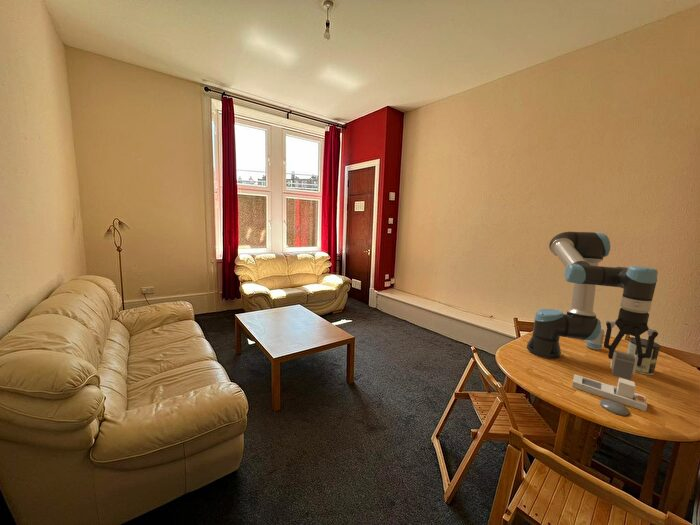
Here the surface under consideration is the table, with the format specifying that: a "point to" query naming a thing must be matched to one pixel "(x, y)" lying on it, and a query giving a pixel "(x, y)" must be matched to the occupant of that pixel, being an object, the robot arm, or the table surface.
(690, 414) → the table surface
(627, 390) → the white plug
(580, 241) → the robot arm
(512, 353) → the table surface
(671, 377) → the table surface
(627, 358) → the block
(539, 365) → the table surface
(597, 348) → the beverage can
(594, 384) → the strip
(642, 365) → the coffee can
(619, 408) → the grey disc
